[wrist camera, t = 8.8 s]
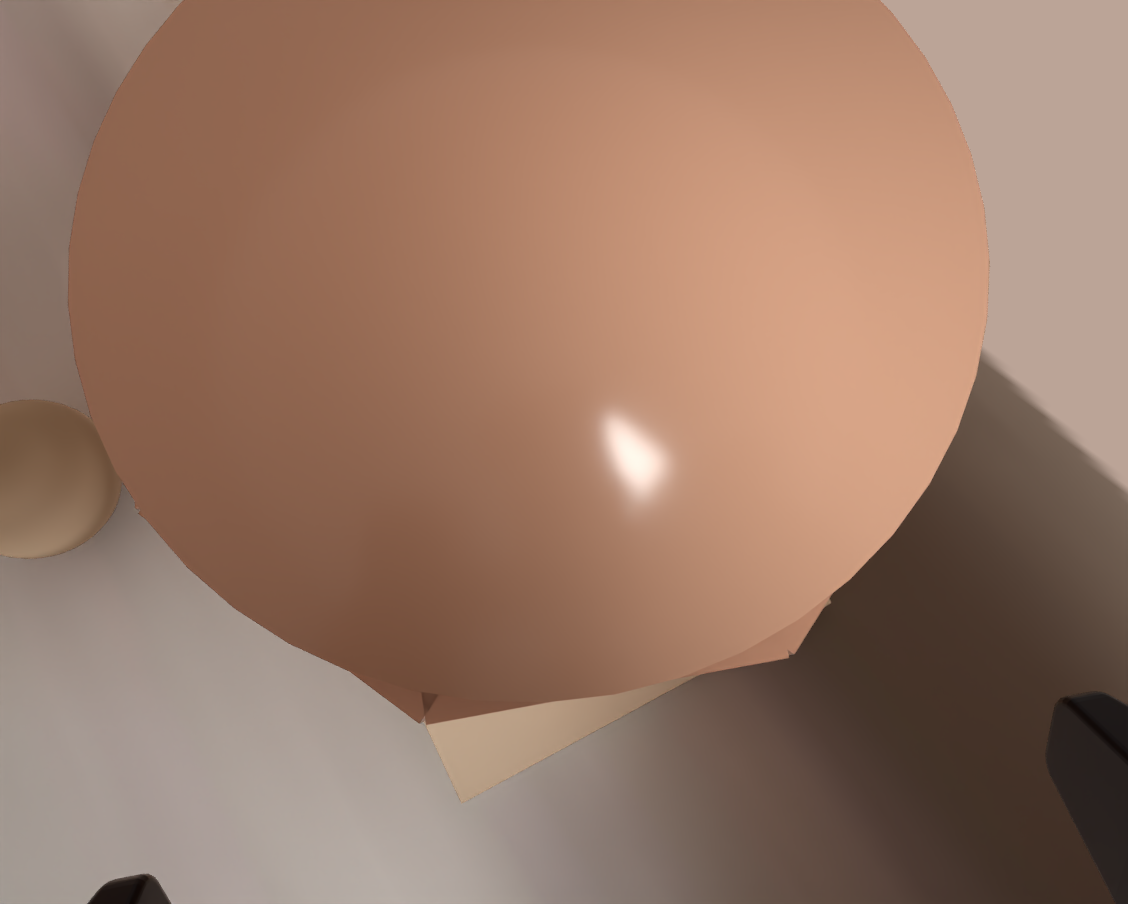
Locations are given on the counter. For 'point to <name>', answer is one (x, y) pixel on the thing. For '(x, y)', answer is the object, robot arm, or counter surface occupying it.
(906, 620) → the counter surface
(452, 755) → the coaster
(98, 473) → the wooden ball
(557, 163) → the brown rounded shape
